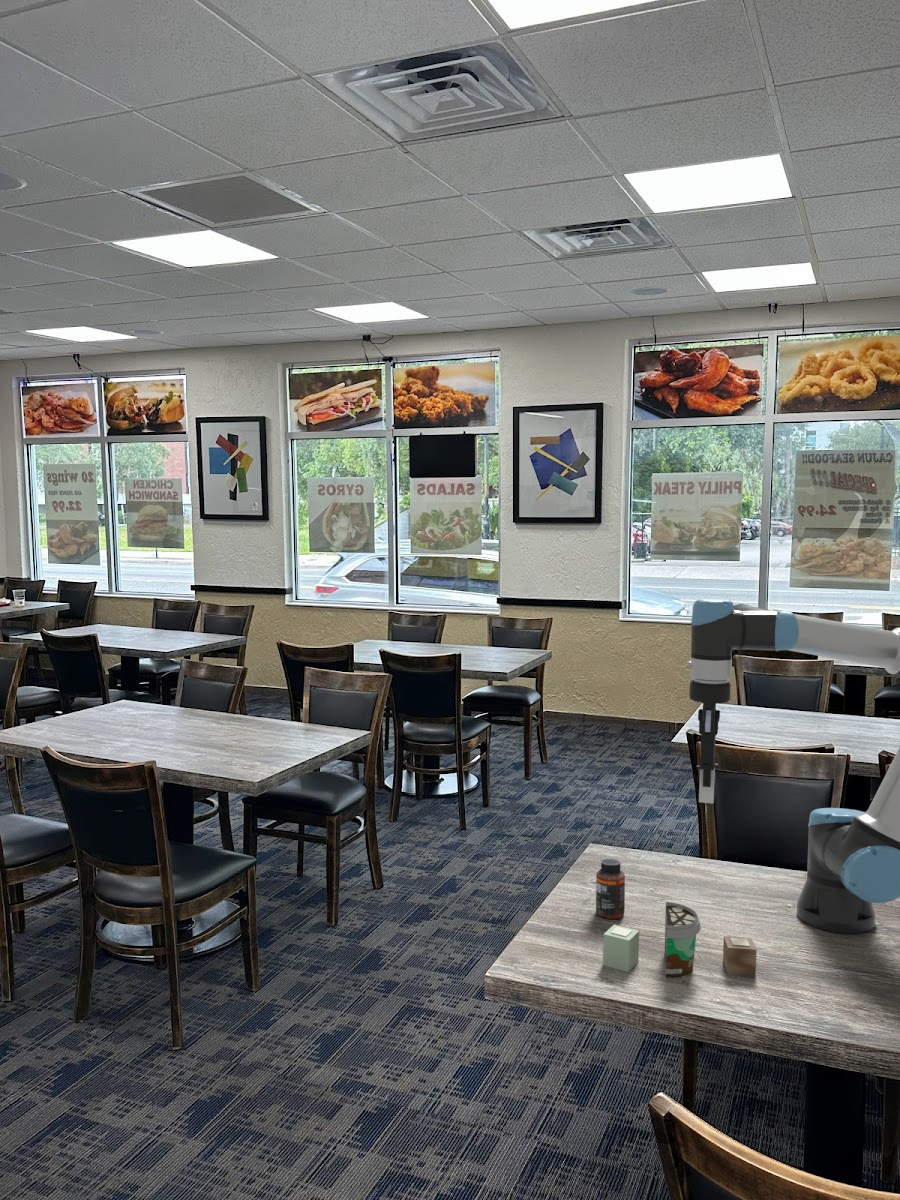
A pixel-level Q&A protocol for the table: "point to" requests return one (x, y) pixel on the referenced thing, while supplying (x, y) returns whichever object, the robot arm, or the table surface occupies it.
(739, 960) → the walnut block
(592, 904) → the table surface
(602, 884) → the supplement bottle
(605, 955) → the sage block
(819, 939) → the table surface
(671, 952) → the food container
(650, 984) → the table surface
